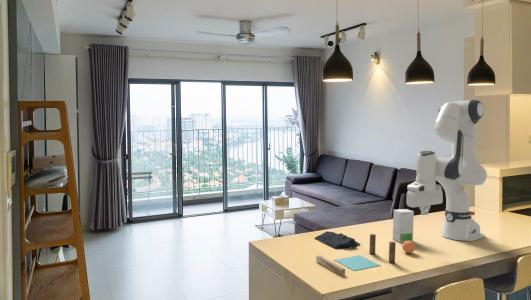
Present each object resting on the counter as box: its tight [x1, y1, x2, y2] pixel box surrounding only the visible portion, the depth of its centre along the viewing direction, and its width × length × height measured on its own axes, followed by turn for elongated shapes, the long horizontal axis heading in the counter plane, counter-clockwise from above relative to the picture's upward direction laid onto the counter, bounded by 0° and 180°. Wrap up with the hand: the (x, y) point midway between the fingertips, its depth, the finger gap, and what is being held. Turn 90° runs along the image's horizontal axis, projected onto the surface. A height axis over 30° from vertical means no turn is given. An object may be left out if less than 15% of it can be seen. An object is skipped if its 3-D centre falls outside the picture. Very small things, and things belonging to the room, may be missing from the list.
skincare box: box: [392, 208, 415, 243], centre depth 214 cm, size 8×7×16 cm
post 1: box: [369, 233, 377, 256], centre depth 193 cm, size 3×3×9 cm
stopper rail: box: [315, 255, 346, 277], centre depth 175 cm, size 2×18×2 cm, turn 26°
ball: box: [401, 241, 416, 254], centre depth 194 cm, size 6×6×6 cm
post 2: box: [388, 241, 397, 265], centre depth 182 cm, size 3×3×9 cm
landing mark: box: [333, 254, 381, 272], centre depth 181 cm, size 14×14×1 cm
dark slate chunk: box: [314, 231, 361, 250], centre depth 211 cm, size 15×22×5 cm
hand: (424, 214), depth 197 cm, fingers closed
